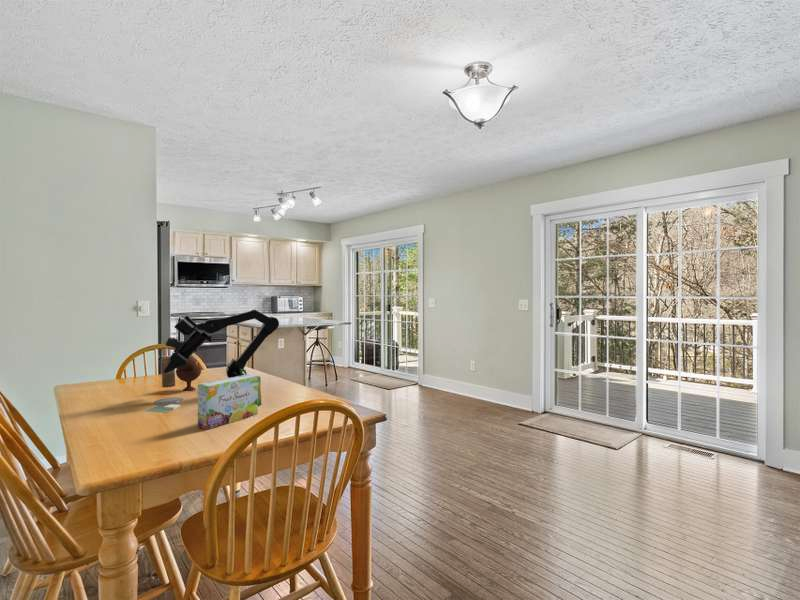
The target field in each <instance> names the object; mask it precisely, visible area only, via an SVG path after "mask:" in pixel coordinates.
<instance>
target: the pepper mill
mask: <svg viewBox="0 0 800 600" xmlns="http://www.w3.org/2000/svg"><path fill="white" fill-rule="evenodd" d="M160 361H161V365H160V366H161V387H162V388H172V387H175V386H176V369H174V370H172V371H170V372H167V373H164V372H163V371H164V370H165V368H166V367H167V366H168V364H169V363H170V361H171V355H170V356H163V357H161V360H160Z"/></svg>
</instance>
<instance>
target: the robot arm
mask: <svg viewBox="0 0 800 600" xmlns="http://www.w3.org/2000/svg"><path fill="white" fill-rule="evenodd" d="M252 320H256V321H258V322H260V323H261V326H260V329H259V331H258V333H257V334H256V335H255V336H254V338H253V339H252V340H251V342H249V344H248V345H247V346H246V348H245V349H244V351H243V352H242V353H241V354H240V355H239V357H237V358H236V359H234V358H232V359H231V361H230V362H229V364H227V365H226V368H225V369H226V370H225V373H226V376H227V378H231V377H236V376H241V372H240V369H244V370H245V367H246V365H247V363H248V361H249V360H250V359H251V358H252V356H253V355H254V354H255V353H256V351H257V350H258V348H260V346H261V345H262V343H263V342H264V341H265V340H266V339H267V338H268V337H269V336H270V335H271V334H273V333H274V332H275V331H276V330H277V329H278V328H279V326H280V321H279V319H278V318H276V317H274V316H267V315H265V314H263V313H262V312H260V311H259V310H257V309H251V310H248V311H245V312H241V313H238V314H234V315H230V316H227V317H220V318H209V319H207V320H205V321H204V322H201V323H200V322H199V323H197V322H195V321H193V320H192V319H191V317H189V316H188V315H186V316H184V317H183V318H182V319H181V320H179V321H178V323H176V324H175V325H174V326H173V328H175V330H177V331H178V332H179V333H180V334H182V335H183V336H184V337H185V336H189V337H187V339H186V340H184V341H181V340H179V339H178V338H175V337H168V338H167V340H166V342H165V344H164V346H166V347H170V348H173V349H174V350H173V352H172V353H171V355H170V356H171V361H170V363H169V364H168V366H167V367H166V368H165V370H164V371H163V372H164V373H167V372H170V371H172V370H174V369H175V370H177V368H178V367H181V366H184V365H185V364H186V363H187V359H189V358H190V357H191V356H192V355H193V354H194V353H196V352H197V351H198V349H199V348H200V347H201V346H202V345H203V344H204V343H205V342H206V341H208V342H209V343H212V338H213V337H212V335H211V334H214V333H216V332H219V331H221V330H223V329H224V328H227V327H229V326H233V325H236V324H240V323H244V322H247V321H252ZM201 331H202V332H201ZM191 334H192V335H191ZM209 334H210V335H209Z"/></svg>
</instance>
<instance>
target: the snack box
mask: <svg viewBox="0 0 800 600" xmlns="http://www.w3.org/2000/svg"><path fill="white" fill-rule="evenodd" d="M258 376H259V375H257V374H256V375H255V374H250V373H247V375H245V374H244V375H242V376H237V377H232V378H228V377H227V378H222V379H219V380H212V381H208V382H203V383H198V384H197V428H200V429H203V430H206V431H208V430H211V429H214V428H217V427H221V426H224V425H228V424H233V423H234V422H238V421H242V420H245V419H248V417H249V418H251V416H252V417H255V416H257V414H259V405H258ZM254 415H255V416H254Z"/></svg>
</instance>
